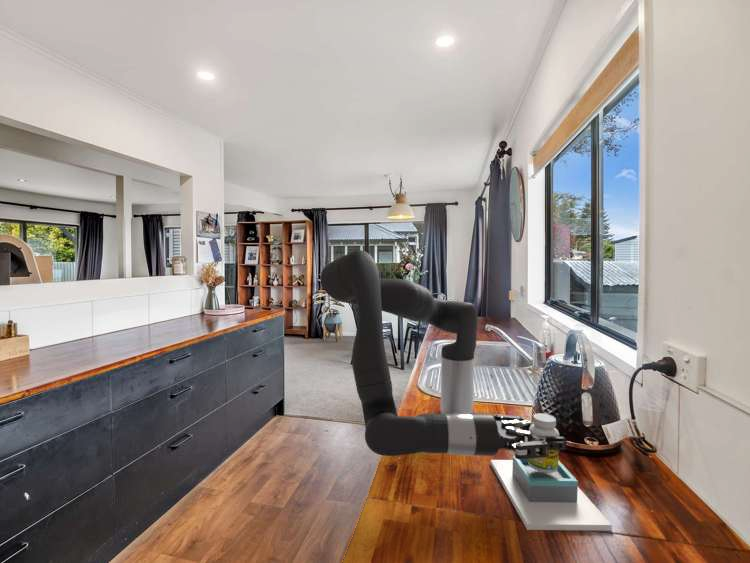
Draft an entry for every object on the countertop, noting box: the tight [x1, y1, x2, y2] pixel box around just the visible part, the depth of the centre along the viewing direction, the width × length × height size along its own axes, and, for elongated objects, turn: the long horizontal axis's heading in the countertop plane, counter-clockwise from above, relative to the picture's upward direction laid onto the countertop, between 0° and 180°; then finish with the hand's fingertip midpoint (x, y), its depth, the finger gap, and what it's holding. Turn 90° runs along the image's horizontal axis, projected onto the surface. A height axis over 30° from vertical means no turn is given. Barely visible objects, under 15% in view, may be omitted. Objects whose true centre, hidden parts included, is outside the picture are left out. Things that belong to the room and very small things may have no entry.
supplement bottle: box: [528, 412, 560, 473], centre depth 71 cm, size 5×5×10 cm
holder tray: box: [490, 455, 613, 532], centre depth 71 cm, size 20×14×5 cm
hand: (557, 435), depth 71 cm, fingers closed on supplement bottle, 5 cm apart
